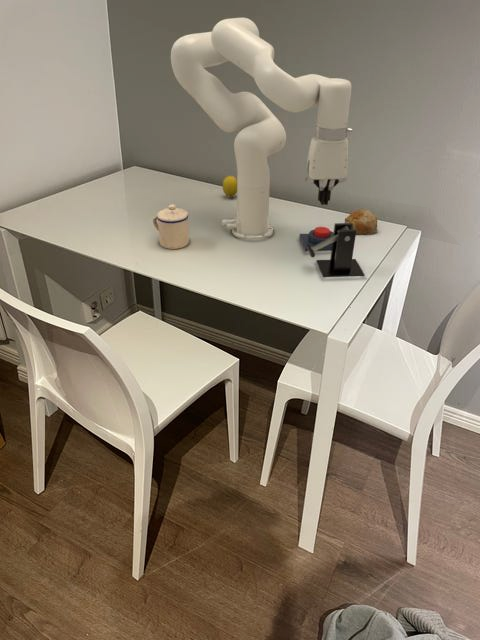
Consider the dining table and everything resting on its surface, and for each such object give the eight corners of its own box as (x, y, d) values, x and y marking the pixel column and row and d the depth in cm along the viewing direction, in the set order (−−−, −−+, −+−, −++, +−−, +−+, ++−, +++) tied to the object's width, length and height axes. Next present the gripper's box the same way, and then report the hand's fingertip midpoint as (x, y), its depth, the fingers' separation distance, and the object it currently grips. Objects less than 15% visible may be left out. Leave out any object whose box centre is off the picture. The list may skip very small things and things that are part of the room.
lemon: (222, 194, 180) (222, 173, 175) (237, 194, 180) (237, 172, 175) (223, 200, 175) (222, 178, 170) (238, 200, 175) (238, 177, 171)
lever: (312, 260, 128) (309, 252, 126) (308, 250, 132) (305, 243, 131) (354, 239, 125) (350, 231, 124) (348, 230, 130) (345, 222, 128)
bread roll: (369, 247, 153) (384, 226, 148) (340, 231, 152) (355, 210, 147) (368, 234, 161) (383, 214, 156) (341, 219, 160) (355, 198, 155)
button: (315, 238, 142) (316, 233, 141) (312, 232, 145) (313, 226, 144) (330, 238, 142) (331, 232, 141) (327, 231, 145) (327, 226, 144)
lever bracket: (322, 280, 129) (328, 235, 122) (315, 263, 137) (320, 220, 129) (364, 278, 130) (371, 234, 123) (354, 262, 137) (361, 219, 130)
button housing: (304, 254, 141) (305, 241, 139) (299, 240, 149) (300, 228, 147) (342, 253, 142) (344, 240, 140) (335, 239, 150) (336, 227, 147)
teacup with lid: (196, 240, 148) (194, 203, 141) (177, 252, 142) (174, 214, 135) (164, 231, 153) (161, 195, 147) (145, 242, 147) (141, 205, 140)
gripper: (355, 129, 128) (346, 197, 138) (298, 130, 127) (294, 198, 137) (364, 136, 122) (354, 207, 132) (304, 137, 121) (298, 209, 131)
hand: (323, 203), depth 135 cm, fingers closed
